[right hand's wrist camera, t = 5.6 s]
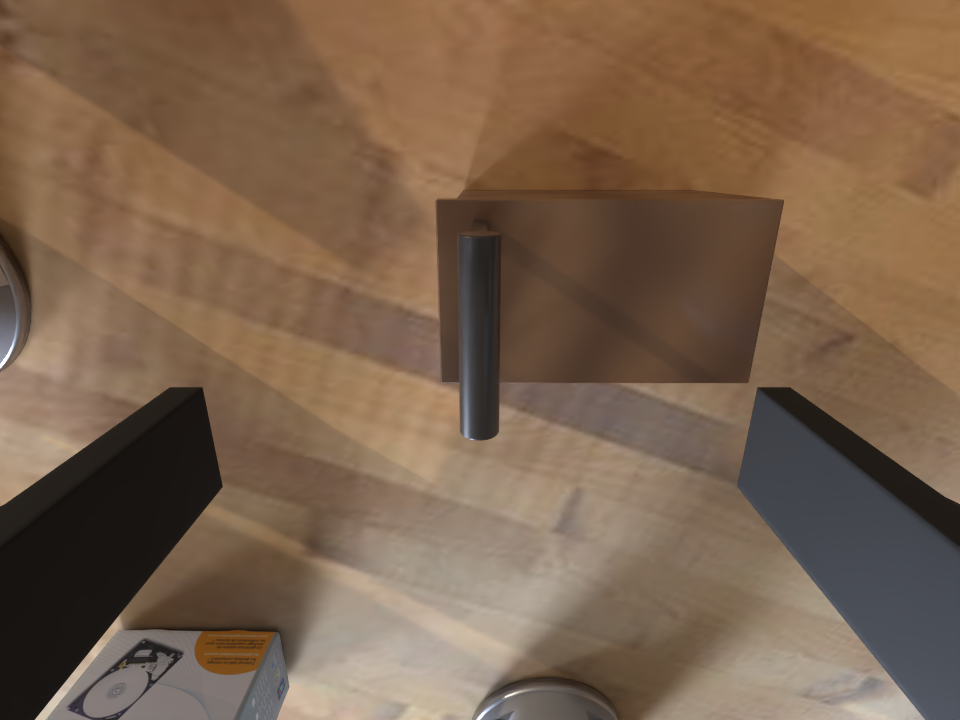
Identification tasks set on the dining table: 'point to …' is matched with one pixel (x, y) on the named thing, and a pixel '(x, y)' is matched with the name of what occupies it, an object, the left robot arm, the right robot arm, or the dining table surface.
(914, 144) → the dining table surface
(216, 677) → the hard drive box
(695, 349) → the chest lid with handle
